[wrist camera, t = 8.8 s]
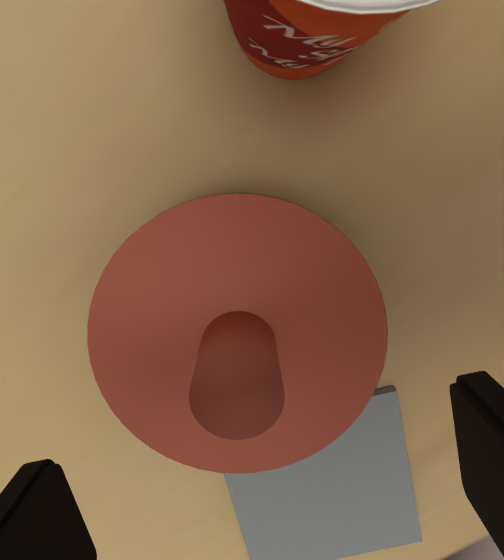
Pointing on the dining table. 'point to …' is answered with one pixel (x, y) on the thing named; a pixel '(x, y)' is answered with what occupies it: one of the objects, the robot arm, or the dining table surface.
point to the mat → (334, 494)
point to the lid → (237, 333)
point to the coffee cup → (309, 30)
